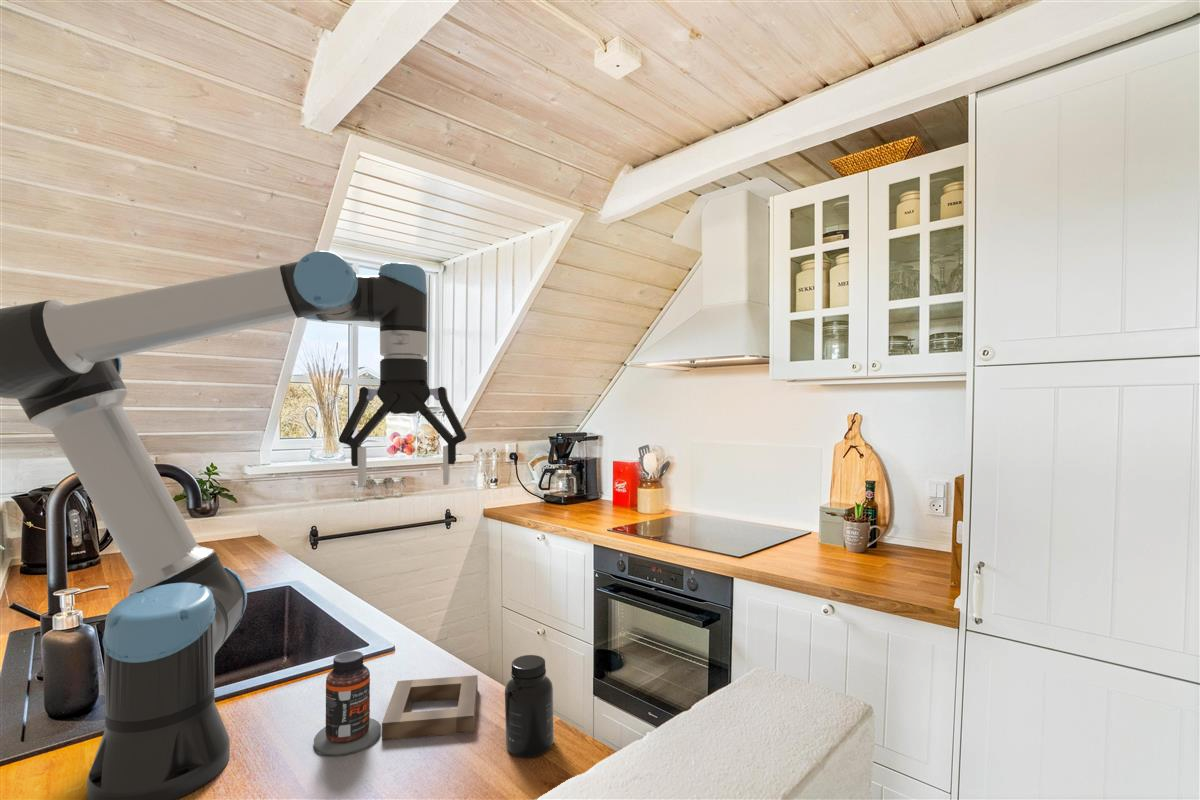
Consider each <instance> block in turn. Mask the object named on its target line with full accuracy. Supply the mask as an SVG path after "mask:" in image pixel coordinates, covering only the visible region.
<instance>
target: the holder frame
mask: <svg viewBox="0 0 1200 800" xmlns="http://www.w3.org/2000/svg"><path fill="white" fill-rule="evenodd" d="M478 676H479V675H476V674H475V675H464V676H462V675H460V676H446V677H433V678H419V679H407V680H406V679H405V680H397V682H396V684H395V686H394V690H393V691H392V695H391V697H390V700H389V702H388V706H387V708H386V712H385V713H384V716H383V719H382V721H381V741H388V740H389V739H390V740H402V738H404V739H413V737H414V738H424V737H425V738H426V737H427V738H428V737H436V736H445V735H446V736H447V735H461V734H471V733H475V732H474V731H475V721H476V712H477V711H476V709H477V701H478V686H479V685H478V684H479V683H478ZM457 699H458V702H457V704H458V705H457V707H456V708H446V709H445V708H444V709H435V710H433V709H432V710H430V709H429V710H421V711H419V710H417V711H409V710H410V707H411V704H412V703H420V702H431V701H432V702H434V701H444V700H445V701H446V700H457Z"/></svg>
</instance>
